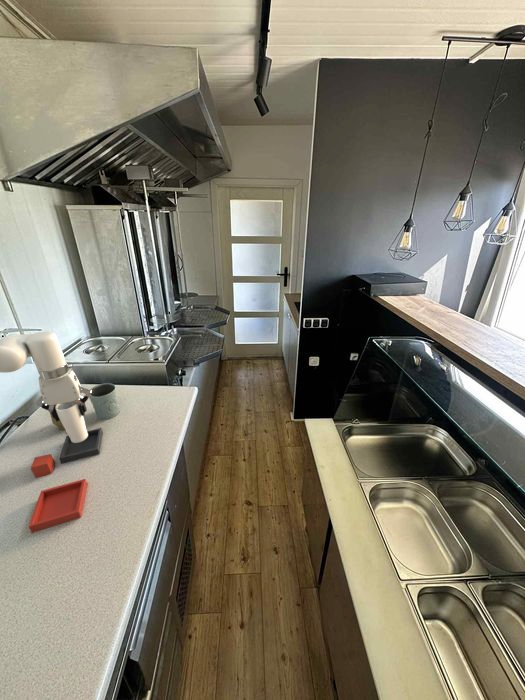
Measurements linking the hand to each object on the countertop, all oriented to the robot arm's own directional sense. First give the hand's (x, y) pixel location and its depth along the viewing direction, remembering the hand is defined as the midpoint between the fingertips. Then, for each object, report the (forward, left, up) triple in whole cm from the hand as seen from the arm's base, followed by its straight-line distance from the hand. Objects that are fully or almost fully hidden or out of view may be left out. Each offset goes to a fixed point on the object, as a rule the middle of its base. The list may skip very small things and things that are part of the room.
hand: (71, 415), depth 97 cm
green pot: (+7, +18, -15) cm, 24 cm away
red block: (-10, -7, -14) cm, 19 cm away
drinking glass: (0, 0, -10) cm, 10 cm away
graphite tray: (0, 0, -14) cm, 14 cm away
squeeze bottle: (-8, +16, -15) cm, 23 cm away
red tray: (-2, -24, -14) cm, 28 cm away
